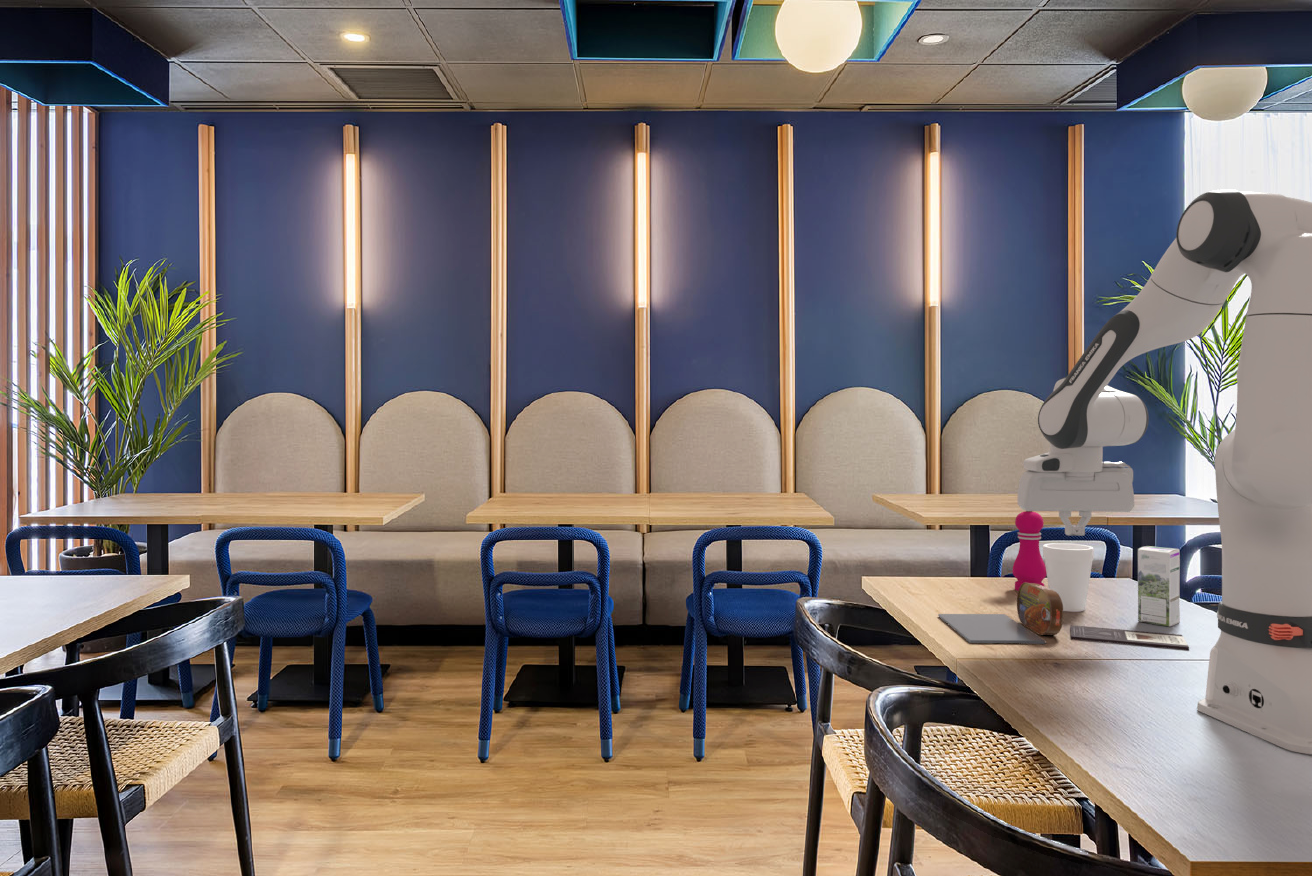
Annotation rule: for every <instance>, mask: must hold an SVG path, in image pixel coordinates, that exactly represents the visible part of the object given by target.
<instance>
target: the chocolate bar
mask: <svg viewBox="0 0 1312 876" xmlns="http://www.w3.org/2000/svg"><path fill="white" fill-rule="evenodd" d="M1070 639H1071V640H1073V641H1074V640H1075V641H1085V642H1095V643H1096V642H1099V643H1108V644H1117V645H1120V644H1121V645H1131V646H1140V647H1152V648H1162V649H1170V650H1171V649H1172V650H1180V651H1181V650H1183V651H1190V647H1189V645H1188V643H1187V641H1186V640H1185V638H1184V636H1183V634H1177V633H1166V632H1165V633H1164V632H1154V631H1141V630H1134V629H1133V630H1131V629H1122V628H1121V629H1119V628H1110V627H1109V628H1107V627H1094V626H1085V625H1075V624H1071V625H1070Z"/></svg>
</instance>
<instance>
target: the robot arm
mask: <svg viewBox="0 0 1312 876" xmlns="http://www.w3.org/2000/svg"><path fill="white" fill-rule="evenodd" d="M1175 233H1176V235H1175V239H1174V240H1173V241H1172V243H1170V245H1169V247H1168V248H1167V249H1166V250H1165V252H1164V254H1163V255H1162V256H1161V258H1160V260H1159V261H1158V263H1157V264H1156V266H1155V268H1154V270H1153V272H1152V273H1151V275H1150V277H1149V278H1148V280H1147V282H1146V283H1145V284H1144V286H1143V287H1142V289H1141V290H1140V291H1139V292H1138V294H1137V295H1136V296H1135V297H1134V298H1133V300H1131V301H1130V302H1129V303H1128V304H1127V305H1126V306H1125V307H1124V308H1123V309H1121V310H1120V311H1119V312H1117V313H1116V314H1115V315H1113V316H1111V318H1109V319H1108V320H1107V321H1106V323H1105V324H1104V325H1103V326H1102V327H1101V329H1100V330H1099V331H1098V333H1097V334H1096V335H1095V337H1094V338H1093V339H1092V341H1090V343H1089V345H1088V346H1087V348H1086V349H1085V351H1084V352H1083V353H1082V355H1081V356H1080V357H1079V359H1078V360H1077V362H1076V363H1075V365H1074V366H1073V368H1072V369H1071V370H1070V372H1069V373H1068V374H1067V375H1066V376H1064V377H1062V378H1060V379H1059V380H1057V381H1056V382H1055V384H1054V387H1053V391H1052V392H1051V393H1049V395H1048V396H1047V398H1046V399H1045V400H1044V401H1043V402H1042V404H1041V407H1040V409H1039V411H1038V414H1037V424H1038V428H1039V430H1040V433H1041V434H1042V436H1043V437H1044V438H1045V440H1046V441H1047V442H1048V443H1050V444H1049V451H1048V452H1045V453H1041V454H1039V455H1035V456H1031V457H1028V458H1025V459H1024V460H1023V462H1022V464H1023V466H1022V467H1023V469H1024V470H1025V472H1023V473H1022V474H1021V476H1020V478H1019V482H1018V488H1017V489H1018V490H1017V505H1018V507H1019V508H1020V509H1021V510H1024V511H1033V512H1058V517H1059V519H1060V521H1061V522H1062V524H1063V525H1064V534H1065V535H1066V536H1085V535H1086V526H1087V525H1088V523H1089V522H1090V520H1091V519H1092V512H1098V513H1099V512H1104V513H1105V512H1111V513H1113V512H1116V513H1118V512H1121V513H1123V512H1125V513H1126V512H1127V513H1128V512H1129V513H1130V512H1131V511H1132V510H1133V509H1134V507H1135V495H1134V493H1135V492H1134V487H1133V482H1134V470H1133V468H1132V467H1131V466H1130V465H1129V464H1126V463H1125V462H1122V461H1117V462H1111V461H1103V453H1104V452H1103V451H1104V449H1103V448H1104V447H1117V446H1119V447H1120V446H1127V445H1132V444H1135V443H1137V442H1138V441H1140V440H1141V439H1142V438H1143V436H1144V435H1145V433H1146V431H1147V430H1148V426H1149V410H1148V408H1147V406H1146V404H1145V402H1144V401H1143V400H1142V398H1140V397H1139V396H1138V395H1136V394H1133V393H1130V392H1127V391H1126V392H1125V391H1122V390H1119V389H1117V388H1114V387H1112V386H1110V385H1109V384H1110V382H1111V380H1112V379H1113V378H1114V377H1115V375H1116V373H1118V371H1119V369H1121V367H1123V366H1124V365H1125V364H1126V363H1128V362H1129V361H1131V360H1132V359H1134V358H1135V357H1138V356H1140V355H1143V354H1146V353H1148V352H1152V351H1154V350H1157V349H1161V348H1164V347H1168V346H1171V345H1176V344H1177V345H1178V344H1180V343H1183V342H1186V341H1188V340H1192V339H1193V338H1196V337H1197V336H1198V335H1200V334H1201V333H1203V331H1204V330H1205V329H1206V328H1207V327H1209V325H1210V324H1211V323H1212V322H1213V321H1214V319H1215V318H1216V317H1217V315H1218V314H1219V312H1220V310H1221V308H1222V307H1223V305H1224V304H1225V301H1226V300H1227V298H1228V297H1229V295H1230V293H1231V292H1232V290H1233V288H1234V286H1235V284H1236V283H1237V281H1238V280H1239V279H1240V277H1242V276H1243V275H1246V276H1247V277H1248V279H1249V280H1250V283H1251V291H1250V297H1249V301H1248V305H1247V306H1248V307H1247V311H1246V316H1245V321H1244V329H1243V334H1242V339H1241V340H1242V341H1241V346H1240V350H1239V351H1240V352H1239V358H1238V366H1237V370H1236V383H1237V385H1236V386H1237V389H1236V390H1237V393H1236V394H1237V395H1236V417H1235V428H1234V430H1232V431H1230V432H1229V433H1228V434H1226V435H1225V437H1224V438H1223V439H1222V440H1221V441H1220V443H1219V445H1218V446H1217V449H1216V451H1215V455H1214V470H1215V471H1214V473H1215V486H1216V487H1215V489H1216V501H1217V502H1216V503H1217V513H1218V522H1219V523H1218V524H1219V529H1220V531H1219V532H1220V539H1221V601H1219V603H1218V604H1217V605H1218V609H1217V612H1216V618H1217V628H1218V629H1219V630H1220V634H1219V637H1218V639H1217V641H1216V643H1215V644H1214V645H1213V647H1212V648H1211V650H1210V651H1209V661H1208V670H1207V676H1206V677H1207V679H1206V680H1207V681H1206V691H1205V698H1203V699H1199V701H1198V702H1197V708H1196V709H1197V711H1199V712H1200V713H1203V714H1205V715H1208V716H1210V717H1212V718H1214V719H1217V720H1219V721H1221V722H1224V723H1226V724H1227V725H1230V726H1232V727H1235V728H1236V729H1239V730H1242V731H1244V732H1247V733H1249V734H1251V735H1253V736H1255V737H1257V738H1260V739H1262V740H1264V741H1267V742H1268V743H1271V744H1273V745H1276V746H1278V747H1281V748H1283V749H1285V750H1287V751H1290V752H1295V753H1300V754H1306V755H1312V201H1311V202H1310V201H1308V200H1304V199H1299V198H1295V197H1289V196H1288V197H1287V196H1285V195H1283V194H1281V193H1280V194H1279V193H1272V192H1260V191H1259V192H1255V191H1239V190H1237V189H1220V190H1219V189H1217V190H1212V191H1208V192H1204V193H1202V194H1199V196H1197V197H1196V198H1194V199H1193V200H1192V201H1191V202H1190V203H1189V204H1188V206H1187V207H1186V208H1185V210H1184V211H1183V213H1182V214H1181V216H1180V218H1179V220H1178V223H1177V227H1176V232H1175ZM1072 512H1078V517H1080V518H1079V521H1078V522H1077V524H1072V522H1071V520H1070V518H1071V517H1072Z"/></svg>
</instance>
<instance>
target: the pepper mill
mask: <svg viewBox="0 0 1312 876" xmlns="http://www.w3.org/2000/svg"><path fill="white" fill-rule="evenodd" d="M1044 522H1045V521H1044V519H1043V516H1042V515H1041V514H1040V513H1038V512H1037V511H1026V510H1024V511H1021V512H1019V513H1018V514H1017V515H1016V517H1015V520H1014V523H1015V527H1016V528H1017V529H1018V531H1017V538H1018V539H1019V549H1018V552H1017V555H1016V558H1015V560H1014V562H1013V566H1012V570H1011V571H1012V575H1013V576H1014V577H1015V579H1016V581H1014V590H1015V591H1017V592H1018V591H1019V588H1020V586H1021V585H1022V584H1023V583H1025V582H1026V583H1034V584H1039V585H1041V586H1044V587H1045V583H1044V582H1042V581H1044V580H1045V578H1047V573H1046V566H1045V560H1044V559H1043V558H1042V557H1043V556H1042V554H1041V550H1040V540H1041V539H1042V536H1041V535H1042V533H1041V530H1042V529H1043V528H1044V524H1045V523H1044Z"/></svg>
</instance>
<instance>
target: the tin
mask: <svg viewBox="0 0 1312 876" xmlns="http://www.w3.org/2000/svg"><path fill="white" fill-rule="evenodd" d="M1016 596H1017V597H1016V610H1017V616H1018V619H1019V621H1020V623H1021V625H1022V626H1024V625H1025V626H1024V627H1025V628H1027V629H1028V630H1031V629H1032V630H1031V631H1033V632H1034V633H1035V634H1037V635H1040V636H1044V635H1045V636H1046V635H1047V636H1056V635H1057V634H1059V633H1060V632H1061V630H1062V627H1063V616H1064V615H1063V613H1064V611H1063V604H1062V600H1061V598H1060V596H1059V594H1058V593H1057V592H1055V591H1053V590H1051V589H1049V587H1045V585H1044V586H1041V585H1039V584H1034V583H1026V582H1025V583H1023V584H1022V585H1021V586H1020V588H1019V591H1017V595H1016Z"/></svg>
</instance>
